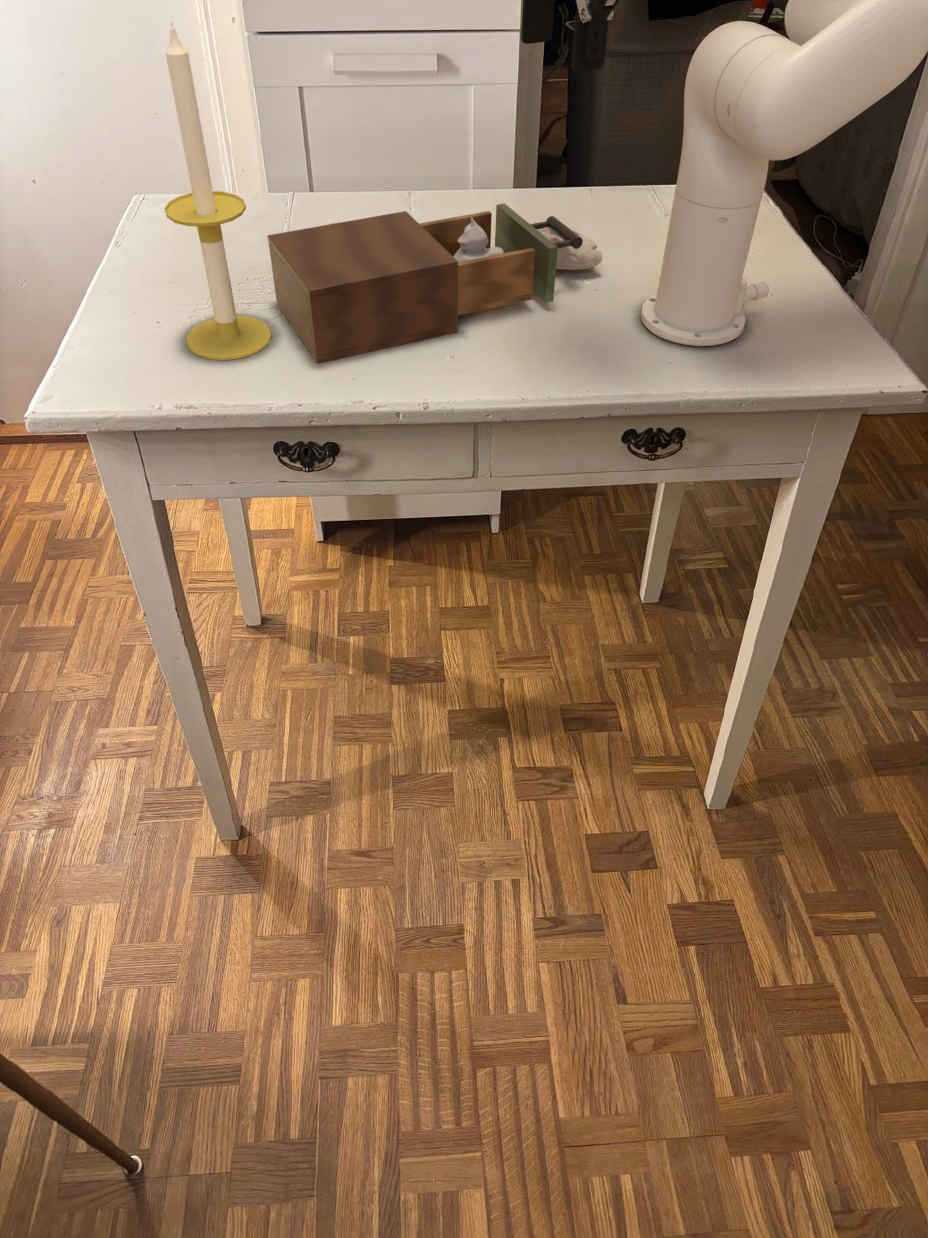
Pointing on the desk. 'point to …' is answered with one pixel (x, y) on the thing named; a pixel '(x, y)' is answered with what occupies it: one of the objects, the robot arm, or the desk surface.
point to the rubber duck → (474, 244)
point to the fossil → (574, 253)
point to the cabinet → (364, 285)
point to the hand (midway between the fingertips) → (560, 55)
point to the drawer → (504, 258)
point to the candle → (208, 227)
